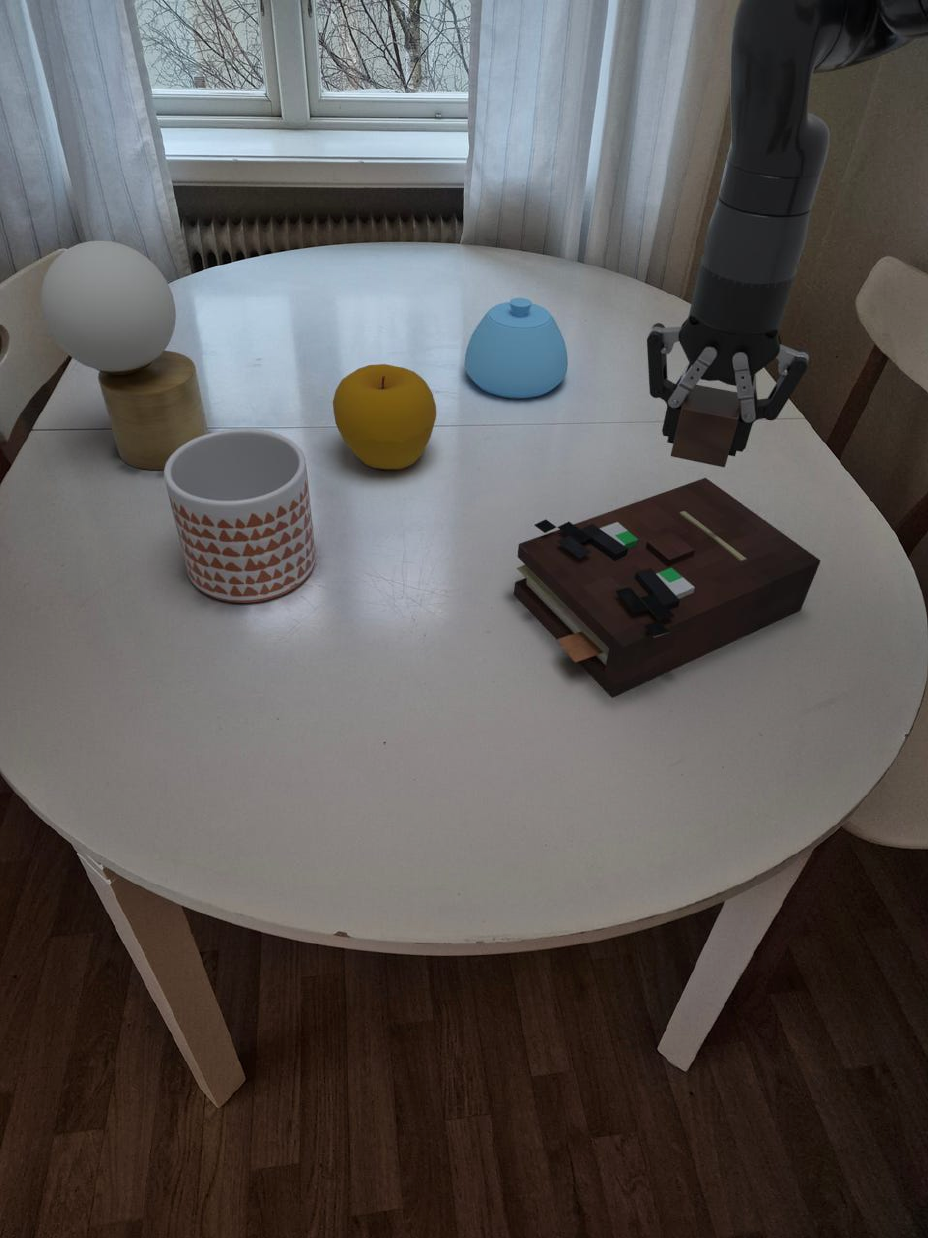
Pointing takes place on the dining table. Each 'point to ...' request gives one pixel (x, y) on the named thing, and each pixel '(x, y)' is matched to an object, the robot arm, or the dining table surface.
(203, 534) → the planter
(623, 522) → the decorative book
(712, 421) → the walnut block
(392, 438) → the apple
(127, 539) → the dining table surface
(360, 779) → the dining table surface
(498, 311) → the sugar bowl
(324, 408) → the dining table surface
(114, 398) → the lamp
